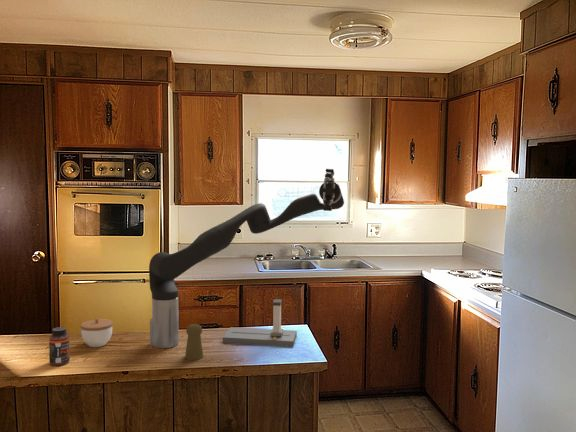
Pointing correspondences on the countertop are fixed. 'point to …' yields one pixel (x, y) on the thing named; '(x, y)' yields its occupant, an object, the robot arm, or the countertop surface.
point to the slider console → (259, 337)
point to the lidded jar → (96, 332)
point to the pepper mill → (194, 342)
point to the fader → (277, 318)
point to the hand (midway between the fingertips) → (327, 188)
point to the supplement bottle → (59, 347)
